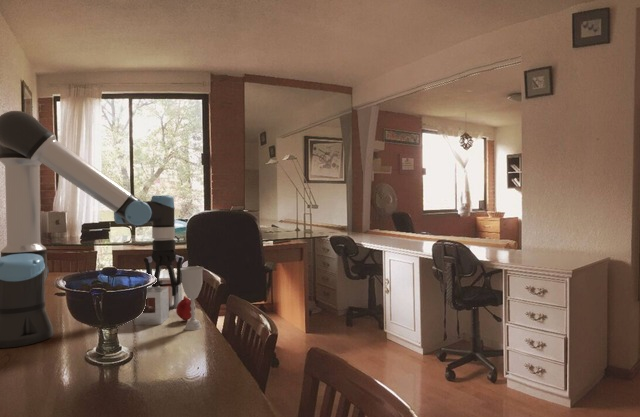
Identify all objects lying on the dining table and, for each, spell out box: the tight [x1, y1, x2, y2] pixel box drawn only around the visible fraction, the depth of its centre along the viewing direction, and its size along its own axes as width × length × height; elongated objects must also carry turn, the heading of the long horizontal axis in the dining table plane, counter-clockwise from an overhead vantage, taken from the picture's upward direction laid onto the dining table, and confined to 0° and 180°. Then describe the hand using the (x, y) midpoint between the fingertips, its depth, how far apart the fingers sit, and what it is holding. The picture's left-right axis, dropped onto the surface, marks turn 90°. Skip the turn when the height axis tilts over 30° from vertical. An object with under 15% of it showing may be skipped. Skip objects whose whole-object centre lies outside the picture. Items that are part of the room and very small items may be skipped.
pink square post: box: [148, 284, 172, 307], centre depth 151 cm, size 18×4×4 cm, turn 4°
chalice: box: [180, 265, 205, 331], centre depth 131 cm, size 7×7×18 cm
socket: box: [157, 277, 183, 309], centre depth 158 cm, size 4×8×10 cm, turn 94°
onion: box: [175, 295, 196, 322], centre depth 138 cm, size 6×6×8 cm
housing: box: [133, 286, 170, 326], centre depth 139 cm, size 9×8×10 cm
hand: (165, 305), depth 153 cm, fingers closed on pink square post, 4 cm apart
